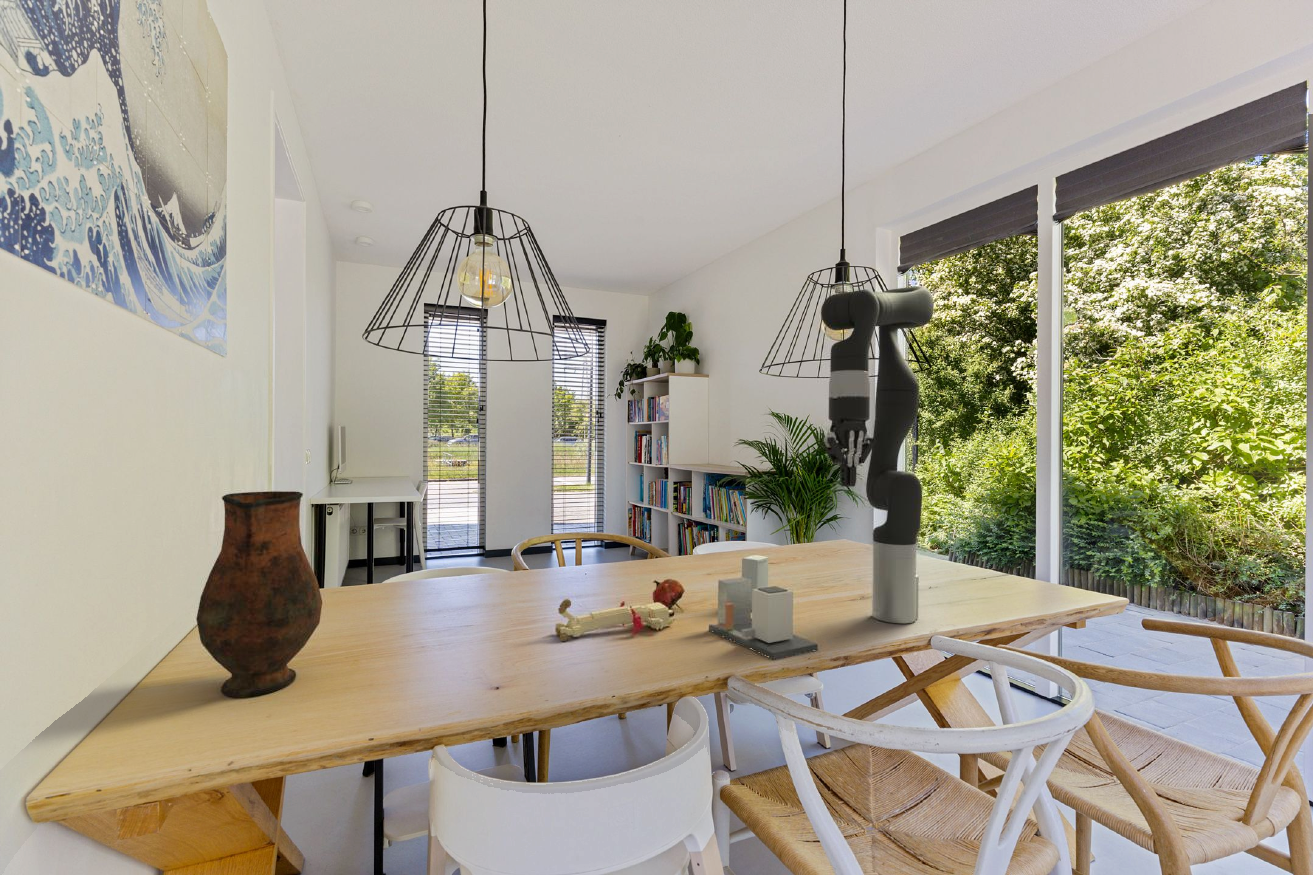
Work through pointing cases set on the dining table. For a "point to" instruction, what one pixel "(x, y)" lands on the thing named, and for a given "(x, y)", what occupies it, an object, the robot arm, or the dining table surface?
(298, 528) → the brown clay vase
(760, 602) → the dark-topped white block
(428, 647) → the dining table surface
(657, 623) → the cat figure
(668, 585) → the pomegranate
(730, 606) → the peak pointer
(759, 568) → the skincare box
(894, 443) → the robot arm
